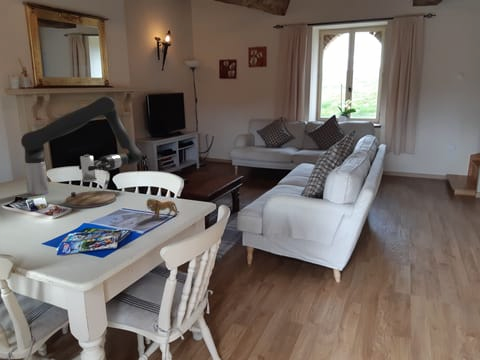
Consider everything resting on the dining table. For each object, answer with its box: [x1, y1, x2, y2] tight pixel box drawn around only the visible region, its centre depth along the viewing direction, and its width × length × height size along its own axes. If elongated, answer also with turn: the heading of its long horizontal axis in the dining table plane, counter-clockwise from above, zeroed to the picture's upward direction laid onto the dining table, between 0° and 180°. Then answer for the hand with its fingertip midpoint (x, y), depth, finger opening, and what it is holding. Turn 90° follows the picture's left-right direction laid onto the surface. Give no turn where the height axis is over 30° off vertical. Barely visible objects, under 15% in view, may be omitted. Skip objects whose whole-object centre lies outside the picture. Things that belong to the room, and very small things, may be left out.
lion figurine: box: [146, 198, 180, 219], centre depth 163 cm, size 15×5×9 cm, turn 120°
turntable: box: [65, 190, 116, 206], centre depth 185 cm, size 23×23×3 cm
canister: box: [79, 154, 98, 183], centre depth 182 cm, size 7×7×13 cm
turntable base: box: [64, 195, 117, 209], centre depth 186 cm, size 24×24×1 cm
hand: (84, 168), depth 180 cm, fingers closed on canister, 6 cm apart
